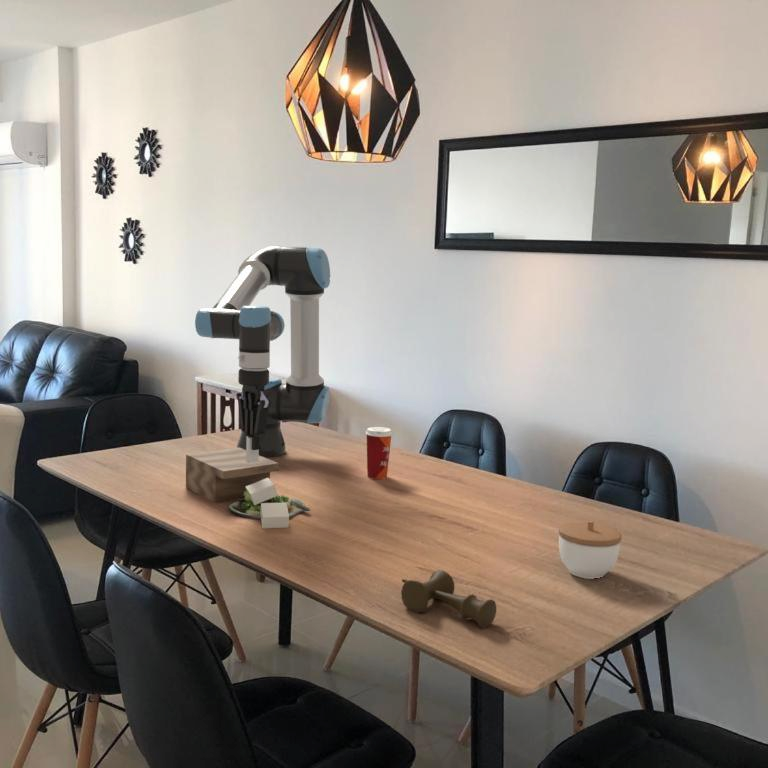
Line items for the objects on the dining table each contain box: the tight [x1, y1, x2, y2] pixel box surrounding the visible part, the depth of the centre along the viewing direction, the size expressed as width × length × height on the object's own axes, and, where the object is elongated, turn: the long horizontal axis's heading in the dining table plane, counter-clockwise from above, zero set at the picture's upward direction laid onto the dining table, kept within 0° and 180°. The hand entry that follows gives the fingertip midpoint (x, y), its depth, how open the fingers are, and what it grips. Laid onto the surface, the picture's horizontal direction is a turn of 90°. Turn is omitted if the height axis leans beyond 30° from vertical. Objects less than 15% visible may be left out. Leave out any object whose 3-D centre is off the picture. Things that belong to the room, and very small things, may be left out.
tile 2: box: [259, 503, 290, 529], centre depth 197 cm, size 6×6×3 cm
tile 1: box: [246, 478, 279, 505], centre depth 205 cm, size 6×6×3 cm
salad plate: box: [227, 490, 311, 520], centre depth 208 cm, size 19×18×5 cm
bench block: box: [185, 447, 280, 503], centre depth 220 cm, size 20×16×9 cm
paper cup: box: [365, 426, 393, 480], centre depth 241 cm, size 8×8×14 cm
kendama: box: [400, 569, 497, 629], centre depth 153 cm, size 6×10×20 cm
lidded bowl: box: [558, 520, 623, 580], centre depth 174 cm, size 13×13×11 cm
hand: (252, 461), depth 211 cm, fingers closed
